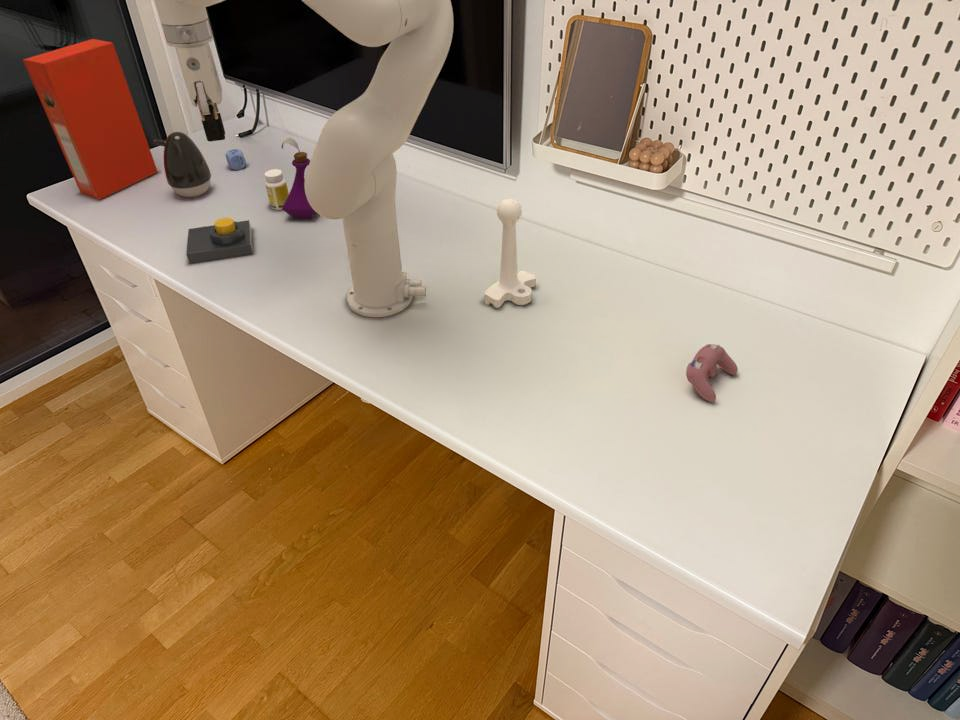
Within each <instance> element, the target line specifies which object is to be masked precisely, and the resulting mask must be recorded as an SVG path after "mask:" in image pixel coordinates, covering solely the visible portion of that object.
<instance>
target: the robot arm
mask: <svg viewBox="0 0 960 720" xmlns="http://www.w3.org/2000/svg"><path fill="white" fill-rule="evenodd" d="M224 1H226V0H154V1H153V2H154V4H155V5H154V6H155V8H156V11H157V15H158V17H159V21H160V25H161V28H162V32H163V35H164V39H165V42H166V44H167V46H169V47H173V48H175V52H176V56H177V58H178V62H179V66H180V70H181V73H182V77H183V80H184V83H185V87H186V89H187V90H186V91H187V93H188V97H189V99H190V102H191V104H192V105H193V106H194V107H198V110H199V113H200V117H201V124H202V128H203V130H204V134H205V138H206V140H207V142H210V143H211V142H216V141H217V142H219V141H224V140H225V139H226V130H225V127H224V122H223V119H222V115H221V112H219V107H218V105H220V104H221V103H222V99H223V89H222V84H221V81H220V78H219V74H218V71H217V66H216V63H215V60H214V55H213V53H212V49H211V46H210V42H212V41H213V40H214V37H213V33H212V29H211V24H210V21H209V17H208V13H207V9H206V8H207V7H211V6H213V5H216V4H219V3H222V2H224ZM301 2H303V3H304V4H305V5H306V6H308V7H309V8H310V9H311V10H313V11H314V12H315V13H316V14H317V15H319V16H320V17H322V18H323V19H324V20H325V21H326V22H328V24H329V25H331V26H333V27H334V28H335V29H336V30H337V31H339V32H340V33H342V35H344V36H345V37H347V38H348V39H349V40H350V41H353V42H355V43H357V44H358V45H361V46H363V47H364V46H365V47H369V48H378V47H381V46H385V45H387V44H389V45H388V46H387V48H386V50H384V52H383V54H382V55H381V57H380V59H379V61H378V63H377V66H376V69H375V72H374V74H373V76H372V78H371V81H370V83H369V85H368V87H367V88H366V89H365V91H364V92H363V93H362V94H361V95H360V96H358V97H357V98H355V99H354V100H352V101H351V102H349V103H347V104H346V105H343V107H341V108H339V109H338V110H337V111H336V112H334V113H333V114H332V115H331V116H330V117H329V119H327V121H326V123H325V124H324V126H323V128H322V130H321V131H320V134H319V137H318V140H317V143H316V145H315V148H314V150H313V153H312V155H311V158H310V159H309V160H310V163H309V165H308V166H307V167H306V171H305V174H304V179H305V182H304V187H305V194H306V197H307V200H308V202H309V204H310V205H311V207H312V208H313V209H314V210H315V213H317V214H318V215H320V216H321V217H322V218H324V219H328V220H341V219H342V225H343V232H344V238H345V244H346V250H347V256H348V263H349V268H350V276H351V281H352V286H351V288H350V289H349V290H348V292H347V295H346V300H347V305H348V307H349V309H351V311H353V312H354V313H356V314H358V315H360V316H363V317H368V318H383V317H384V318H385V317H388V316H393V315H396V314H397V313H398V314H399V313H400V312H401V311H403V310H405V309H406V308H407V307H409V305H410V304H411V302H412V300H413V297H426V296H427V286H425V285H424V286H423V285H422V284H423V283H422V279H421V280H419V279H418V280H417V279H415V280H410V279H409V278H408V276H407V271H403V267H402V258H401V248H400V240H399V239H400V237H399V231H398V220H397V209H396V190H397V179H398V176H397V174H398V171H397V163H396V159H395V158H396V157H395V155H394V153H396V152H397V151H398V150H400V148H401V147H403V146H404V144H405V143H406V142H407V140H408V139H409V137H410V134H411V133H412V131H413V128H414V126H415V124H416V122H417V120H418V117H419V116H420V114H421V112H422V110H423V108H424V106H425V104H426V102H427V99H428V97H429V95H430V93H431V90H432V88H433V87H434V85H435V83H436V80H437V79H438V77H439V74H440V72H441V70H442V68H443V66H444V64H445V61H446V60H447V57H448V54H449V52H450V47H451V46H452V45H451V44H452V39H453V34H454V11H453V6H452V1H451V0H301Z"/></svg>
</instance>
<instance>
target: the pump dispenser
mask: <svg viewBox="0 0 960 720" xmlns="http://www.w3.org/2000/svg"><path fill="white" fill-rule="evenodd" d="M152 143H153V145H156V146H160V147H163V168H164V173H165V178H166V183H167V185H169V186H170V187H171V189H172V190H173V191H174V192H175V193H176V194H177V195H178V196H181V197H186V198H196V197H199V196H202V195H203V194H205V193H206V192H207V191H208V190H209V188H210V186H211V178H212V173H211V170H210V167H209V165H208V163H207V161H206V159H205V157H204V155H203V153H202V151H201V150H200V148H199V147H198V146H197V144H196V143H195V142H194V141H193V139H191V137H190V136H189V135H187V134H186V133H185V132H181V131H173V132H171V133H169V134H168V135H167V137H166V139H165V140H163V139H153V141H152Z"/></svg>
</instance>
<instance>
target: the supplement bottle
mask: <svg viewBox="0 0 960 720" xmlns="http://www.w3.org/2000/svg"><path fill="white" fill-rule="evenodd" d="M264 178H265V182H264V186H265V189H266V194H267V197H268V201H269V205H270V208H271V209H273V210H275V211H282V207H283V205H284V203H285V201H286V199H287V197H288V195H289V193H290V192H289V189H288V185H287V180H286V178H285V177H284V174H283V171H282V170H281V169H279V168H272V169H269V170H267V171H265V172H264Z"/></svg>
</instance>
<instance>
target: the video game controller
mask: <svg viewBox="0 0 960 720" xmlns="http://www.w3.org/2000/svg"><path fill="white" fill-rule="evenodd" d="M717 366H718V367H719V368H721V369H722V370H723V371H724V372H726V373H727V374H730V375H732V376H735V375H736V374H737V373H738V371H739V370H738V369H739V368H738V366H737V364H736V362H735V361H734V360H733V359H732V357H731V356H730V355H729V353H727V351H726V350H725V348H724V347H723V346H720V344H715V343H708V344H705V345H704V346H702V347H700V349H699V350H698V351H697V353H696V354H695V355H694V356H693V359H692V361H691V362H689V363H688V364H687V366H686V371H685V372H686V373H685V374H686V375H685V376H686V379H687V381H688V383H690V384H691V385H692V387H693V388H694V390H695V392H696V393H698V395H699V396H700V397H701V398H703V399H704V400H705V401H706V402H711V403H712V402H714V401H716V399H717V395H716V392H715V390H714V389H713V387H712V386H711V385H710V383H709V377H715V376H716V375H717V371H718V367H717Z"/></svg>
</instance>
